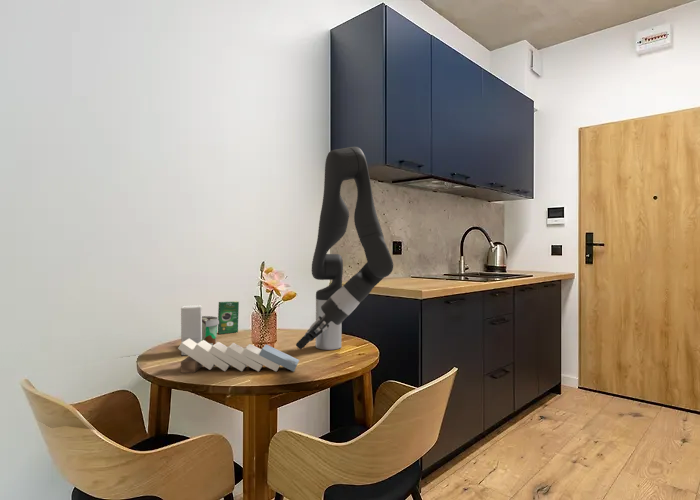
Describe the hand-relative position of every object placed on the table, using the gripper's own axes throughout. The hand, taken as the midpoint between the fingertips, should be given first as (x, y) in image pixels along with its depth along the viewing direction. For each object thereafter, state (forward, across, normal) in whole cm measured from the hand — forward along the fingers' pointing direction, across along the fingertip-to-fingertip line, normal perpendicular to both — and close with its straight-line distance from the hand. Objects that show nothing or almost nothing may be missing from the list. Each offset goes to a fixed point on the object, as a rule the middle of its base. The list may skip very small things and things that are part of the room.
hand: (298, 346), depth 126 cm
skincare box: (+32, -20, -22) cm, 43 cm away
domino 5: (+8, 0, 0) cm, 8 cm away
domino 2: (+18, 0, -10) cm, 21 cm away
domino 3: (+14, 0, -7) cm, 16 cm away
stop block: (+26, 0, -17) cm, 31 cm away
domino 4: (+11, 0, -3) cm, 12 cm away
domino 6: (+4, 0, +4) cm, 6 cm away
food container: (+30, -31, -20) cm, 47 cm away
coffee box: (+30, -54, -20) cm, 65 cm away
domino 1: (+21, 0, -13) cm, 25 cm away
